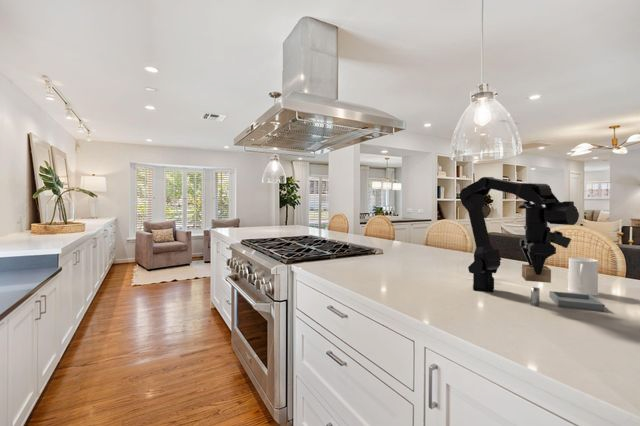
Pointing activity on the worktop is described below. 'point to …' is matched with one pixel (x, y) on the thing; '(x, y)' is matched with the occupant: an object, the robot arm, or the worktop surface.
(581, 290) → the mug
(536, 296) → the post
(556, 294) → the tray
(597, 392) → the worktop surface
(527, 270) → the brown square socket block
